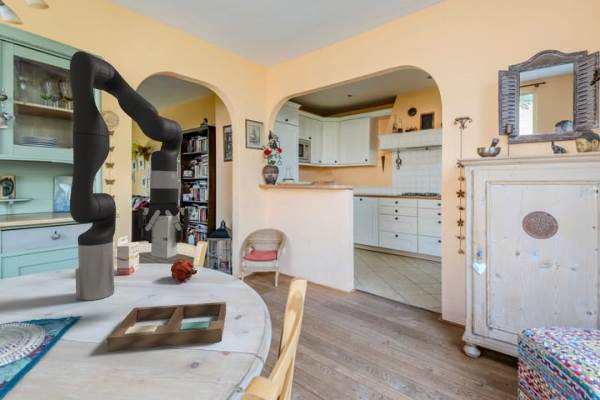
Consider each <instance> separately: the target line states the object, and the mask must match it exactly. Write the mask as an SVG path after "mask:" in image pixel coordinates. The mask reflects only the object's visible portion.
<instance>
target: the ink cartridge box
mask: <svg viewBox="0 0 600 400" xmlns="http://www.w3.org/2000/svg"><path fill="white" fill-rule="evenodd" d="M138 270H140V242H139V241H135V242H134V241H132V242H130V241H129V235H124V236H122V237H118V238H117V241H116V275H117V276H130V275H131V273H132V274H133V273H135V272H137V271H138Z"/></svg>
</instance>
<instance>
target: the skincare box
mask: <svg viewBox="0 0 600 400" xmlns="http://www.w3.org/2000/svg"><path fill="white" fill-rule="evenodd" d="M152 217H153V216H152V215H151V218H152ZM174 218H175V219H176V220H178V219H179V215H178V214H177V215H176V216H174ZM176 231H177V228H176V227H175V225H174V224H173V223H172V216H158V218H157V219H156V221H155V223H154V225H153V226H152V243H151V248H150V249H151V254H150V255H151V257H156V258H158V257H159V258H164V259H167V258H168V259H169V258H172V257H174V256H177V255H178V243H176Z"/></svg>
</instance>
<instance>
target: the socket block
mask: <svg viewBox="0 0 600 400" xmlns="http://www.w3.org/2000/svg"><path fill="white" fill-rule="evenodd" d="M226 313H227V301H218V302H204V303H203V302H202V303H188V304H175V305H170V304H169V305H157V306H142V307H141V306H140V307H134V308H133V309H132V310H130V312H129V313H128V314H127V315H126V316H125V317H124V319H123V320H122V321H121V322H119V324H118V325H117V326H116V328H115V329H114V330H113V331H111V333H110V334H109V335H108V336H107V338H106V344H107V345H106V346H107V347H106V348H107V349H106V350H107V352H111V351H112V352H114V351H124V350H125V351H126V350H138V349H147V348H149V349H150V348H158V347H168V346H169V347H171V346H179V345H182V346H183V345H190V344H192V345H193V344H202V343H213V342H214V343H215V342H222V340H223V334H224V327H225V320H226V315H227V314H226ZM215 315H216V316H217V315H218V318H217V320H211V321H210V320H204V321H203V320H201V321H188V322H183V320H184V318H190V317H191V318H192V317H202V316H215ZM162 319H169V321H168V322H167V324H149V325H135V324H136V323H137V322H138V321H148V320H162Z"/></svg>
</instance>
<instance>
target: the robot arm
mask: <svg viewBox="0 0 600 400" xmlns="http://www.w3.org/2000/svg"><path fill="white" fill-rule="evenodd" d="M69 79H70V88H71V96H72V115H73V117H72V118H73V119H72V122H73V124H72V150H73V151H72V152H73V153H72V154H73V156H72V159H73V161H72V177H71V179H72V180H71V188H70V196H69V213H70V216H71V218H72V219H73V221H74V222H76V223H77V224H88V223H89V224H90V223H91V226H90V227H89V228H88V229H87V230H86V231H84V232H82V233H80V234H79V235H78V236H77V249H78V250H77V251H78V253H77V254H78V257H77V258H78V267H77V268H75V293H76V294H75V299H76V300H81V301H96V300H100V299H104V298H107V297H109V296H111V295H113V294H115V266H114V265H115V264H114V263H115V261H114V235H116V225H117V223H116V220H117V205H116V201H115V199H114V197H113V196H112V195H111V194H110V193H106V192H94V182H95V178H96V176H97V173H98V172H99V171H100V169H101V167H102V166H103V165H104V163H105V161H107V158H108V157H109V155H110V154H109V153H110V149H111V148H110V146H111V145H110V143H111V142H110V139H111V137H110V135H111V134H110V130H109V127H108V125H107V123H106V121H105V119H104V118H103V115H102V114H101V111H100V110H99V107H98V106H97V103H96V100H95V92H94V89H96V90H100V91H103V92H105V93H108V94H109V95H111V96H112V97H114V98H115V99H116V100H117V102H118V103H117V104H118V105H119V108H120V109H121V110H122V111H123V112H124V114H126V115H127V116H128V117H129V118H130V119H131V120H132V121H134V122H135V123H136V124H137V126H138V128H139V129H140V130H141V132H142V133H143V134H144V136H146V137H147V138H149V139H150V140H152V141H154V142H159V143H161V146H160V148H159V150H154V151H152V152H151V155H150V175H149V204H150V205H149V207H143V206H141V207H139V208H137V220H138V223H137V224H138V228H139V229H140V230H141V229H143V230H145V239H146V240H145V241H146V242H148V244H152V226H153V225H154V223H155V221H156V219H157V218H158V216H172V223H173V224H174V225H175V227H176V228H177V231H176V243H177V244H180V243H181V241H183V233H184V232H183V230H184V229H187V228H189V227H190V216H191V215H190V214H191V208H190V207H180V205H179V187H180V185H179V184H180V183H179V175H178V157H179V155H180V151H181V147H182V143H183V138H184V133H183V128H182V126H181V125H180V124H179V122H177V121H176V120H172V119H170V118H167V117H163V116H161V115H159V111H158V110H157V108H156V107H155V106H154V105H153V104H152V103H151V102H150V101H148V100H147V99H145V97H143V96H142V95H141V94H139V93H138V92H137V91H136V90H135V89H134V88H133V87H132V86H131V85H130V84H129V83H128V82H127V81H126V80H125V79H124V77H123V76H122V75H121V74H120V72H119V71H118V70H117V69H116V68H115V67H114V66H113V65H112V64H111V63H110V62H108V61H106V60H104V59H102V58H99V57H98V56H95V55H93V54H91V53H88V52H86V51H83V50H79V51H76V52H74V53H73V54H72V56H71V59H70V61H69ZM148 213H149V214H150V215H151V218H150V219H149V221H148V224H147V215H148ZM179 213H181V215H182V216H183V223H181V221H180V219H179V218H178V220H176V219H175V218H174V216H176V215H177V216H178V214H179ZM152 216H153V217H152Z"/></svg>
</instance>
